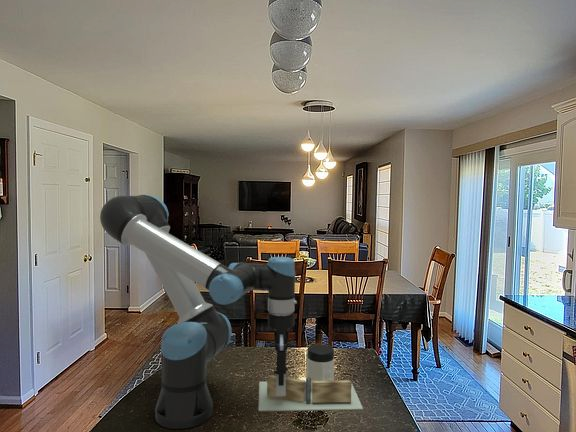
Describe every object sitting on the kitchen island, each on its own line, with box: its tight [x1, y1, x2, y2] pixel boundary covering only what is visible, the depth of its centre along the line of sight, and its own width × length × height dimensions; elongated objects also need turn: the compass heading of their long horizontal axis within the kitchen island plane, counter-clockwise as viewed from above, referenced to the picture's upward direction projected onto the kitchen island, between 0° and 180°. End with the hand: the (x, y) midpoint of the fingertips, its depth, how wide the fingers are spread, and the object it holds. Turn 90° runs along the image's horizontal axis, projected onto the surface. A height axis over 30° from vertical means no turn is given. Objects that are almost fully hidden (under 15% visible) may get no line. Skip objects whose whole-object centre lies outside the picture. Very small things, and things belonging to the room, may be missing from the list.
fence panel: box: [266, 374, 306, 402], centre depth 121 cm, size 11×2×6 cm, turn 73°
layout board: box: [258, 380, 364, 412], centre depth 124 cm, size 29×17×1 cm, turn 93°
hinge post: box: [305, 377, 311, 404], centre depth 119 cm, size 1×1×8 cm
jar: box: [305, 343, 335, 391], centre depth 128 cm, size 9×8×12 cm
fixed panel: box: [312, 379, 353, 403], centre depth 119 cm, size 11×2×6 cm, turn 93°
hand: (280, 394), depth 119 cm, fingers closed
